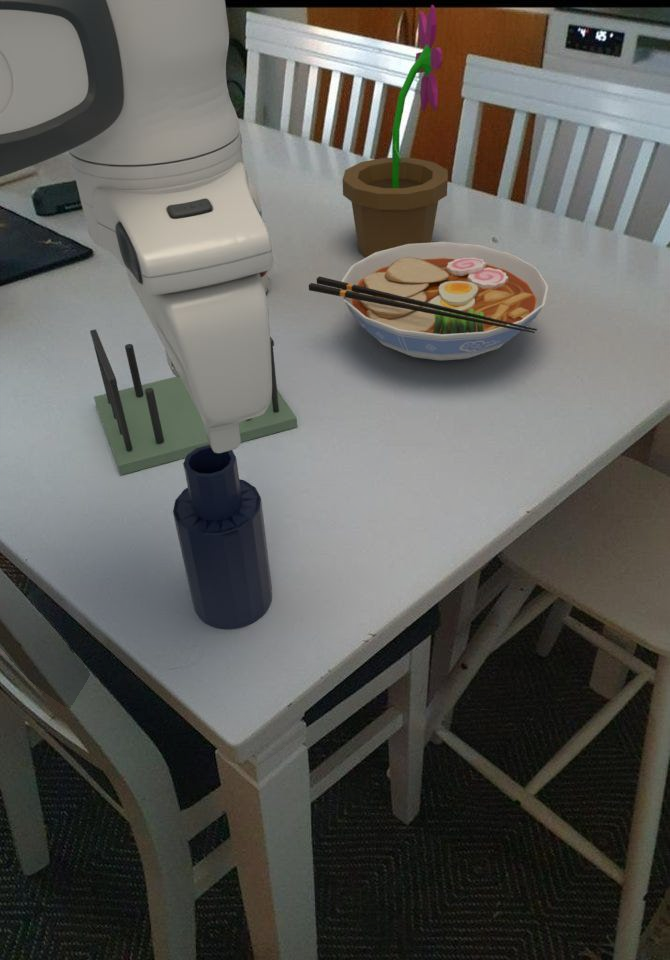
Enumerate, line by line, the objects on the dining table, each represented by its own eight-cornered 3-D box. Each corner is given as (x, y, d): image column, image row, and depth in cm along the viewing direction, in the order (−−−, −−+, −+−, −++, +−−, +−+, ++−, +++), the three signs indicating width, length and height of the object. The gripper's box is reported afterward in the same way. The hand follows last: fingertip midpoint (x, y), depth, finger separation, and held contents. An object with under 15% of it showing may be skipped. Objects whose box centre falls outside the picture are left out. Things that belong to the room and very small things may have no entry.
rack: (120, 475, 77) (98, 391, 71) (96, 405, 86) (74, 326, 80) (297, 427, 82) (291, 344, 76) (256, 366, 91) (247, 288, 85)
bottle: (206, 639, 61) (177, 499, 52) (185, 585, 66) (154, 447, 57) (283, 613, 63) (267, 473, 54) (257, 561, 67) (239, 424, 58)
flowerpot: (457, 264, 110) (473, 12, 91) (353, 274, 108) (347, 21, 89) (431, 223, 121) (441, -9, 102) (336, 233, 119) (328, -1, 100)
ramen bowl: (574, 321, 97) (586, 256, 91) (509, 421, 81) (518, 350, 76) (386, 281, 106) (387, 221, 101) (297, 364, 91) (292, 298, 86)
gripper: (74, 148, 50) (122, 343, 59) (150, 280, 36) (197, 513, 44) (173, 132, 52) (205, 323, 61) (284, 251, 37) (304, 480, 46)
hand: (202, 405), depth 52 cm, fingers open, 8 cm apart
